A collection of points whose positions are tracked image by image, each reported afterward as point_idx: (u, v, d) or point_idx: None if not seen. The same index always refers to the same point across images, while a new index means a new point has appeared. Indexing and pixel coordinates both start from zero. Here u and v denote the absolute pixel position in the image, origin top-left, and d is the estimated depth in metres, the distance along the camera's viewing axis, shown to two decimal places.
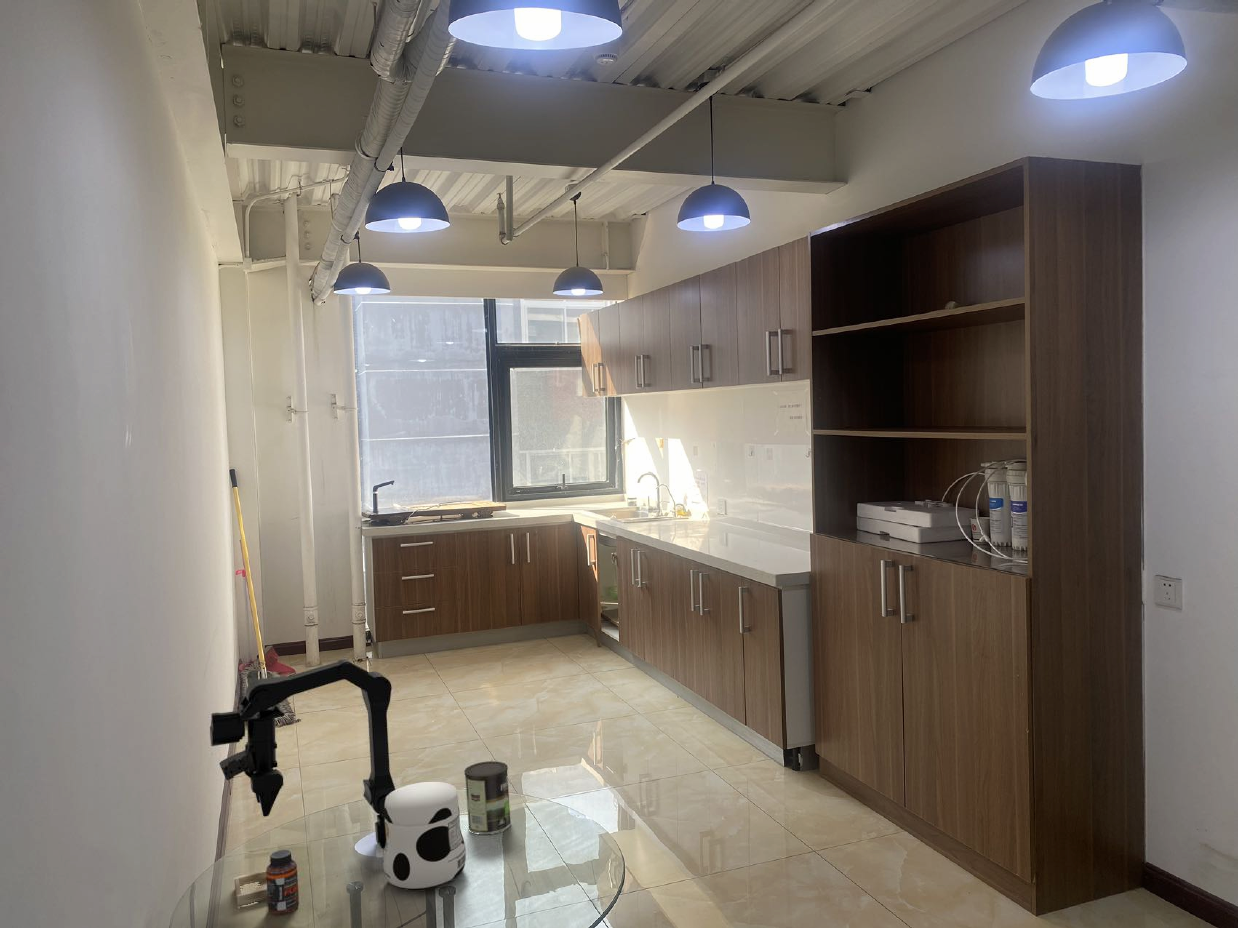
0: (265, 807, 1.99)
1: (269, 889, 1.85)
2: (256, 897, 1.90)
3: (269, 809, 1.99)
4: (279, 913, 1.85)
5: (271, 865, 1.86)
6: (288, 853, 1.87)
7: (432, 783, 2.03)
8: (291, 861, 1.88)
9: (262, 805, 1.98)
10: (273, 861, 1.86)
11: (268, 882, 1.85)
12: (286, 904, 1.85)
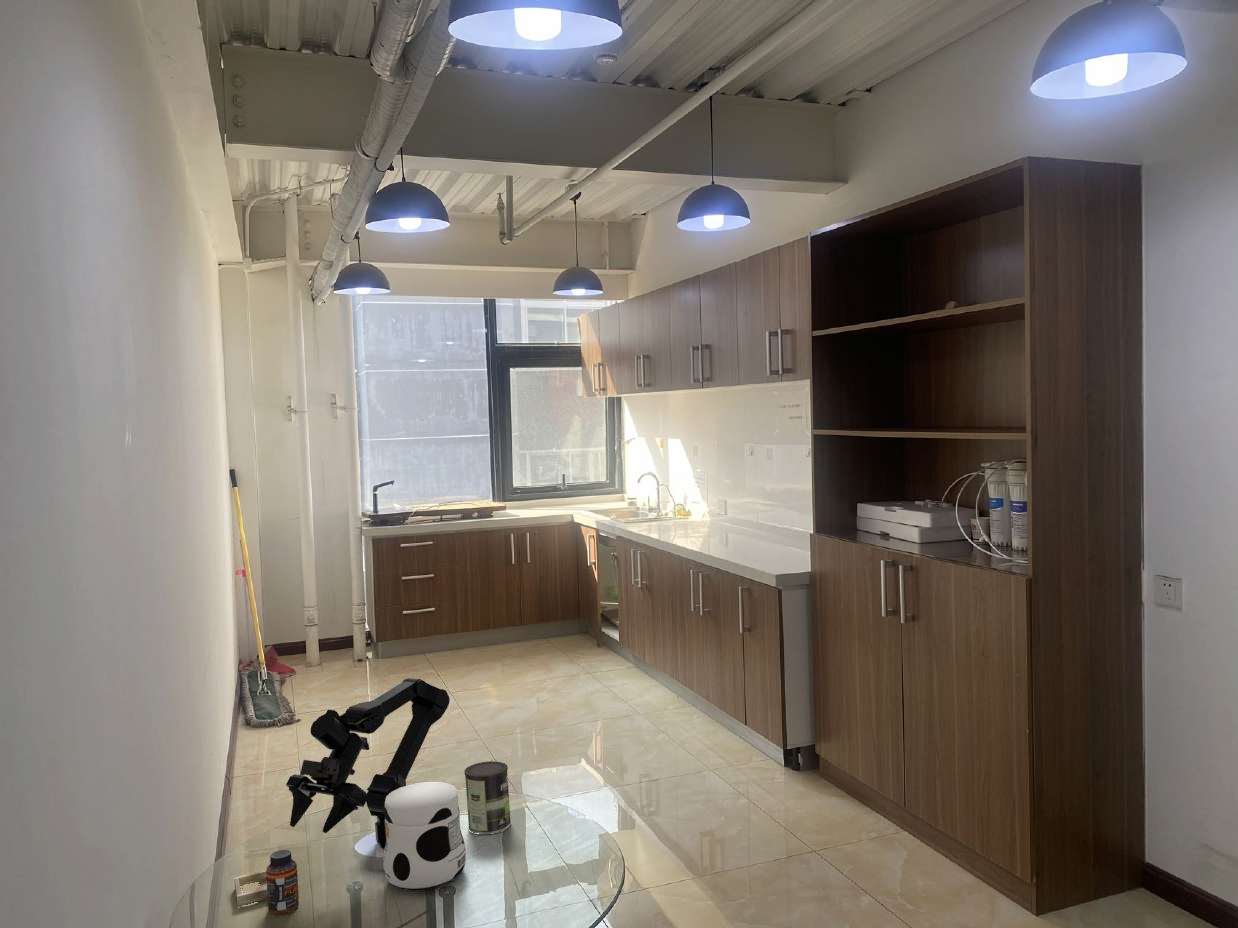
0: (331, 822, 1.93)
1: (269, 889, 1.85)
2: (256, 897, 1.90)
3: (331, 826, 1.93)
4: (279, 913, 1.85)
5: (271, 865, 1.86)
6: (288, 853, 1.87)
7: (432, 783, 2.03)
8: (291, 861, 1.88)
9: (331, 818, 1.93)
10: (273, 861, 1.86)
11: (268, 882, 1.85)
12: (286, 904, 1.85)
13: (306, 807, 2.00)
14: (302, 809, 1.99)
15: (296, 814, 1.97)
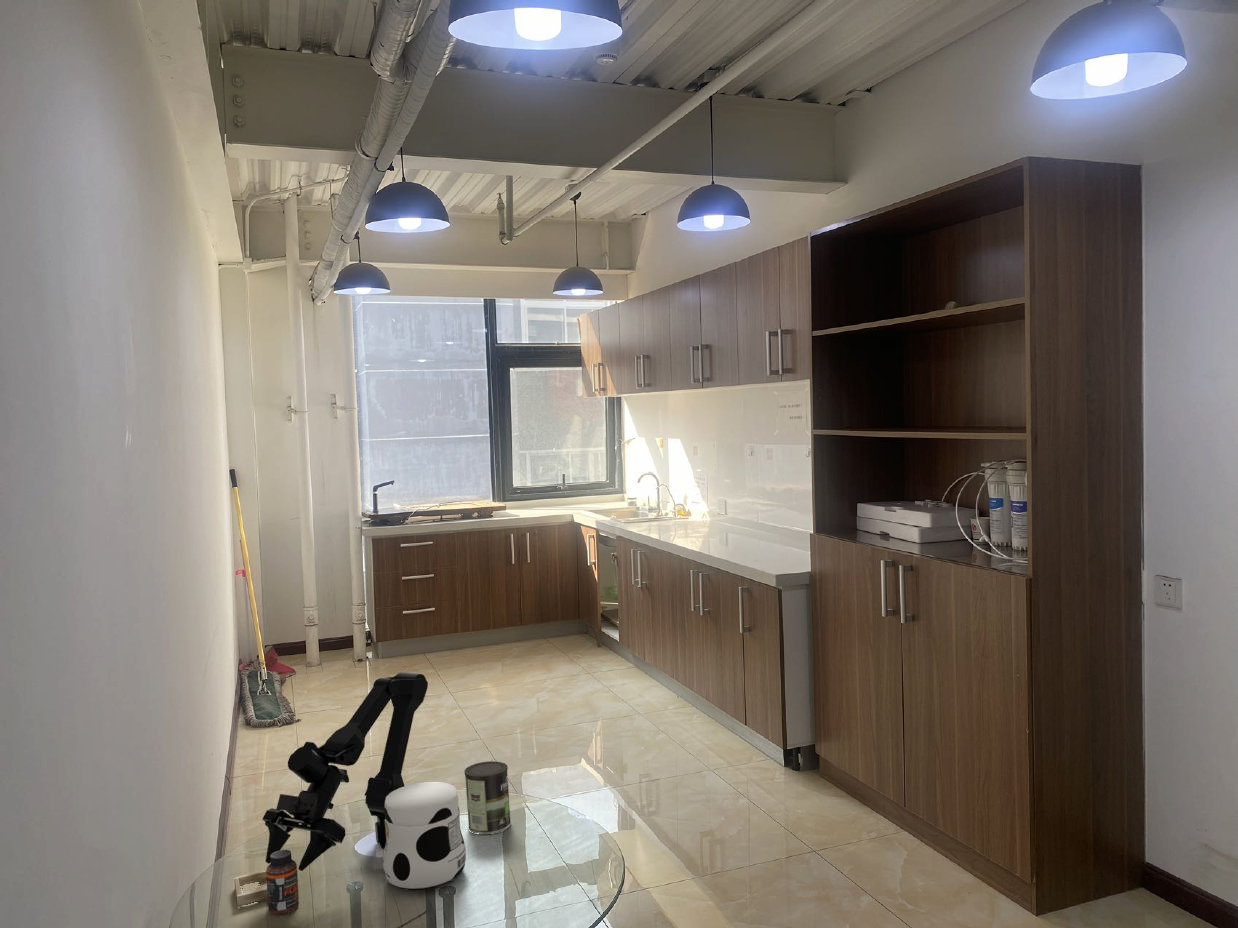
0: (308, 859, 1.87)
1: (269, 889, 1.85)
2: (256, 897, 1.90)
3: (308, 864, 1.87)
4: (279, 913, 1.85)
5: (271, 865, 1.86)
6: (288, 853, 1.87)
7: (432, 783, 2.03)
8: (291, 861, 1.88)
9: (308, 855, 1.87)
10: (273, 861, 1.86)
11: (268, 882, 1.85)
12: (286, 904, 1.85)
13: (283, 842, 1.94)
14: (278, 845, 1.93)
15: (272, 850, 1.91)
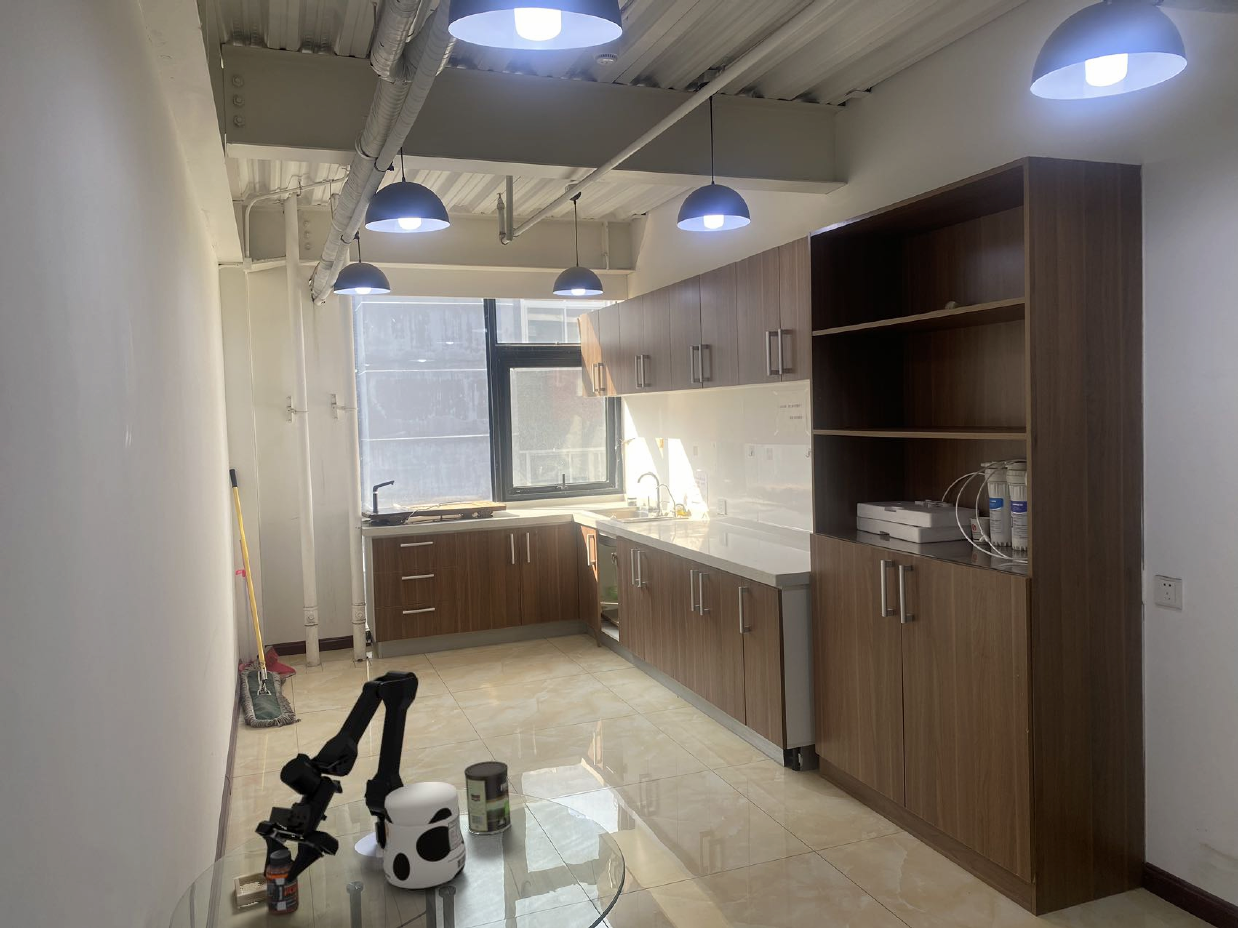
0: (295, 871, 1.86)
1: (269, 889, 1.85)
2: (256, 897, 1.90)
3: (295, 876, 1.86)
4: (279, 913, 1.85)
5: (271, 865, 1.86)
6: (288, 853, 1.87)
7: (432, 783, 2.03)
8: (291, 861, 1.88)
9: (295, 867, 1.86)
10: (273, 860, 1.86)
11: (268, 882, 1.85)
12: (286, 903, 1.85)
13: None
14: None
15: None
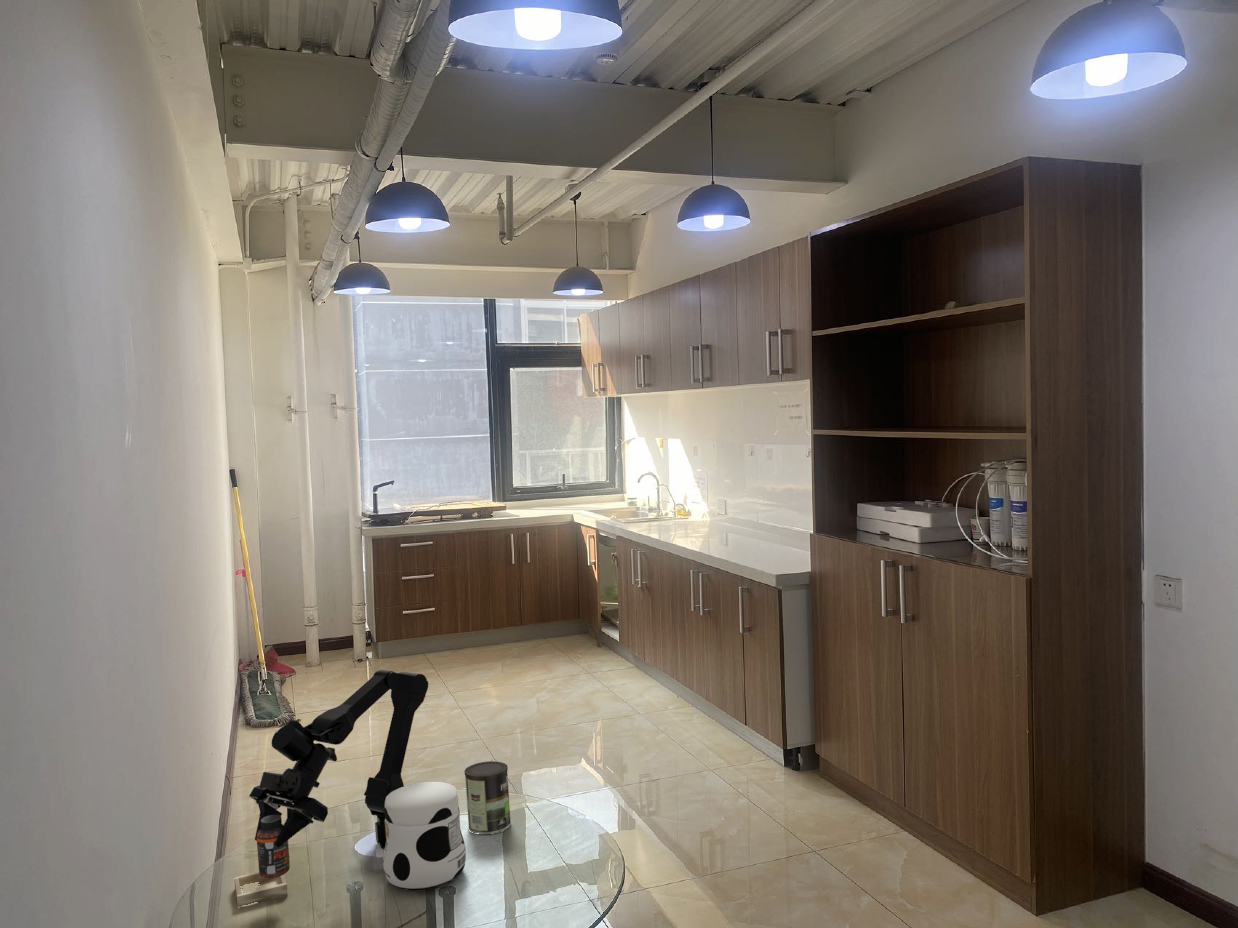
0: (284, 836, 1.87)
1: (259, 853, 1.87)
2: (256, 897, 1.90)
3: (284, 840, 1.87)
4: (269, 877, 1.87)
5: (261, 829, 1.88)
6: (278, 818, 1.89)
7: (432, 783, 2.03)
8: (281, 826, 1.89)
9: (284, 832, 1.87)
10: (263, 825, 1.88)
11: (258, 846, 1.87)
12: (276, 868, 1.87)
13: None
14: None
15: None
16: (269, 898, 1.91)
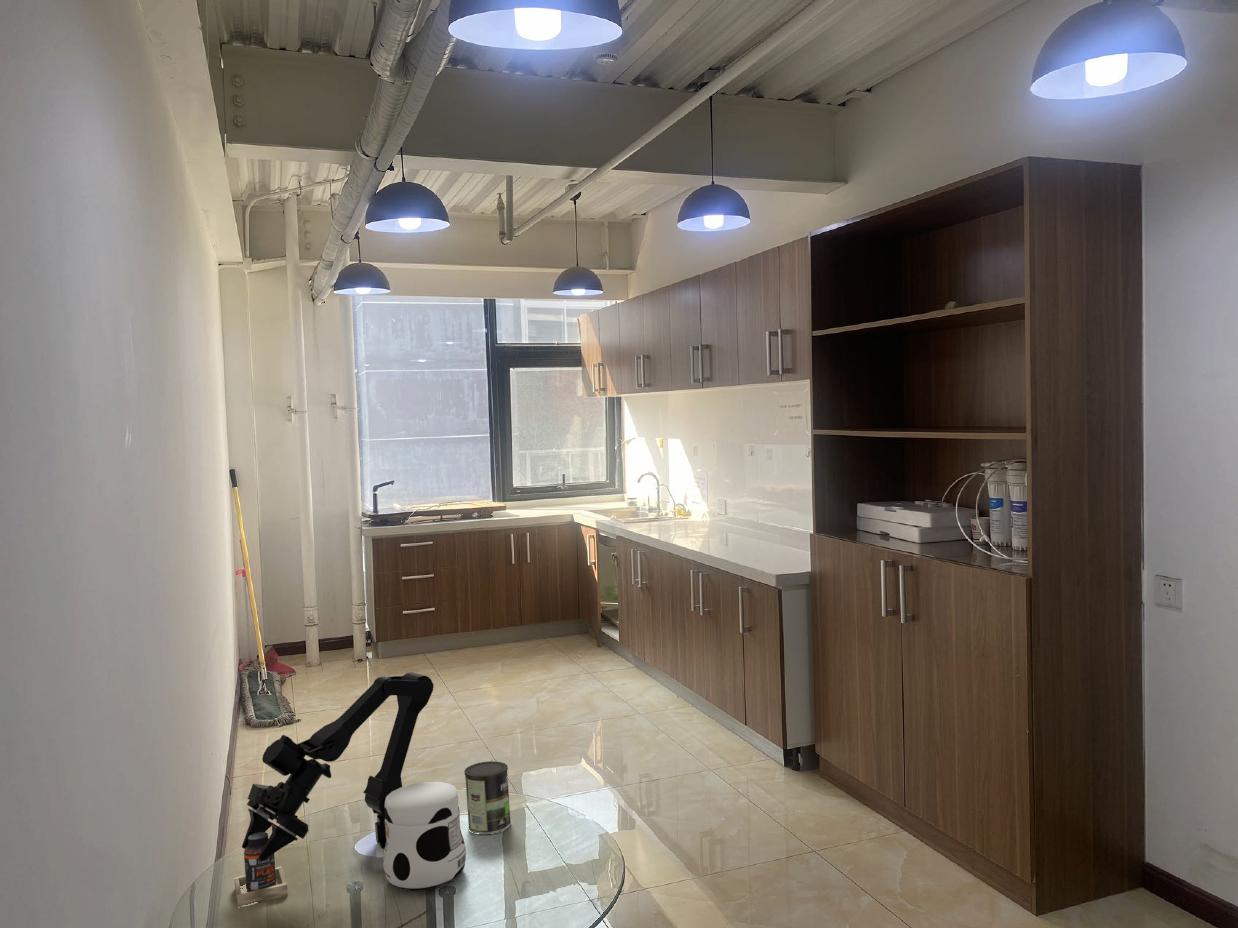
0: (268, 850, 1.91)
1: (245, 868, 1.94)
2: (256, 897, 1.90)
3: (268, 855, 1.92)
4: None
5: (248, 845, 1.95)
6: (263, 836, 1.95)
7: (432, 783, 2.03)
8: None
9: (268, 846, 1.91)
10: (248, 841, 1.94)
11: (244, 861, 1.94)
12: (259, 884, 1.92)
13: (263, 830, 2.00)
14: (258, 832, 1.99)
15: None
16: (269, 898, 1.91)
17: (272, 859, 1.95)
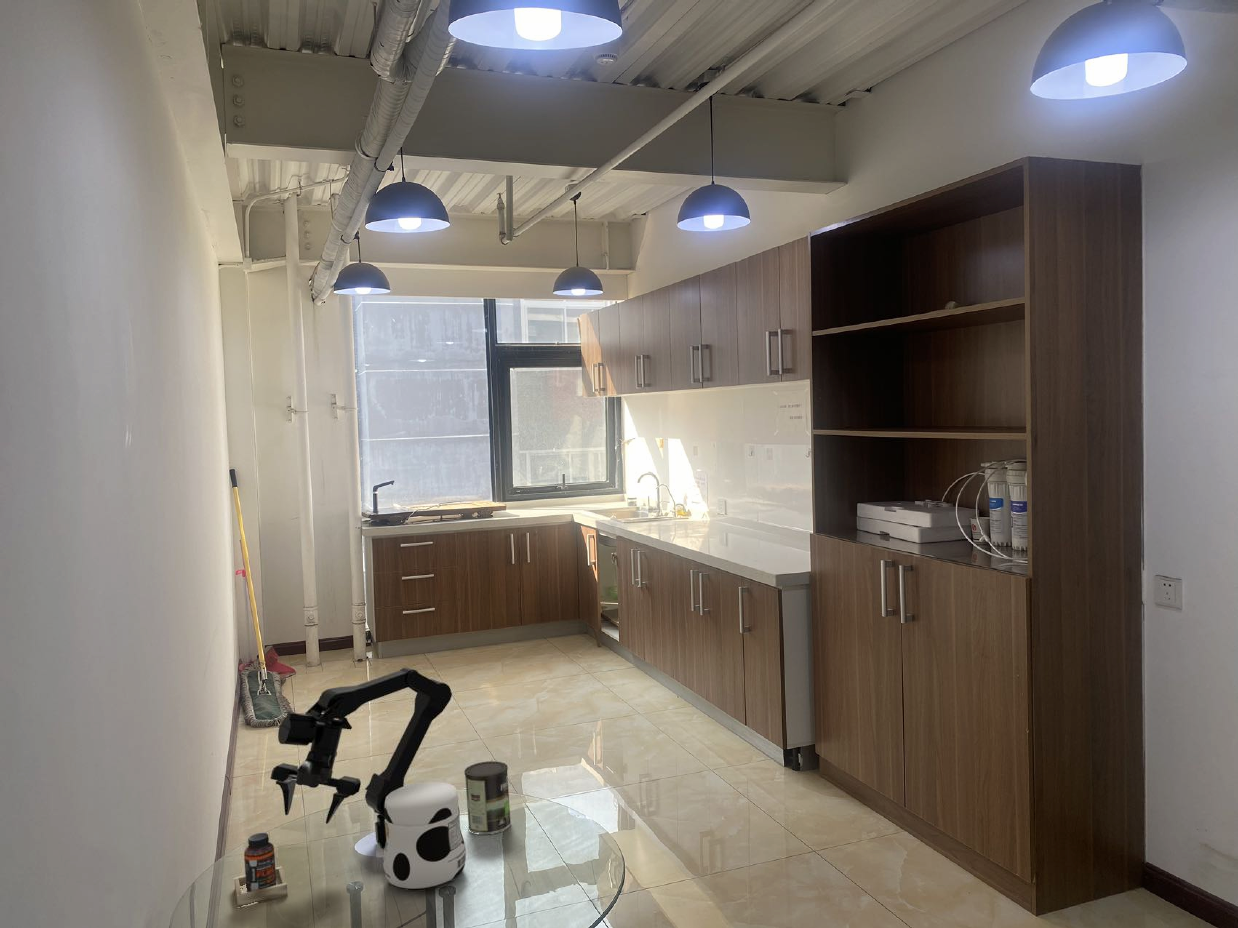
0: (332, 814, 2.05)
1: (245, 869, 1.94)
2: (256, 897, 1.90)
3: (332, 816, 2.05)
4: None
5: (248, 846, 1.94)
6: (263, 837, 1.94)
7: (432, 783, 2.03)
8: (267, 845, 1.95)
9: (333, 811, 2.04)
10: (249, 842, 1.94)
11: None
12: (259, 885, 1.92)
13: (293, 790, 2.07)
14: (291, 795, 2.06)
15: (289, 804, 2.05)
16: (269, 898, 1.91)
17: (272, 860, 1.95)
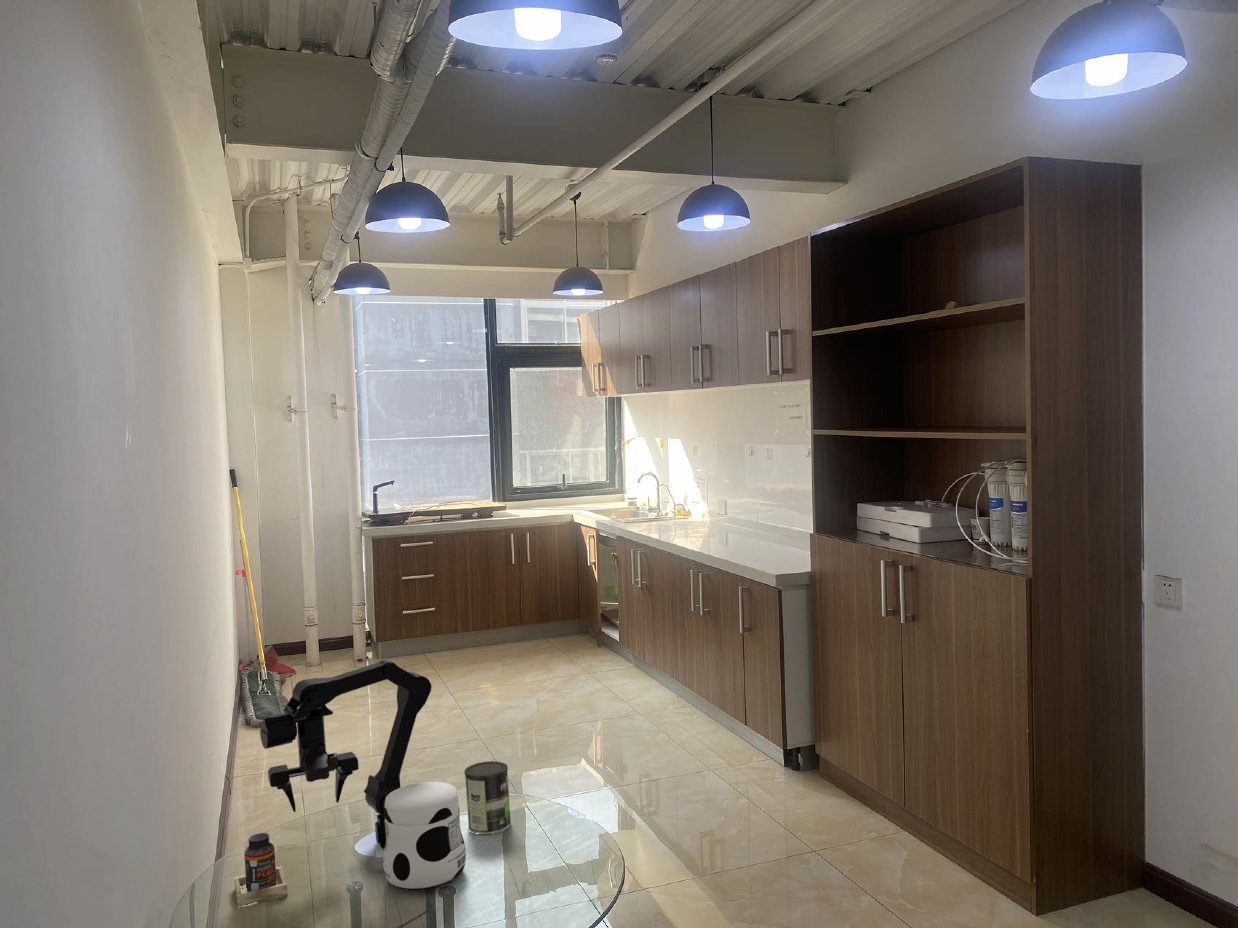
0: None
1: (245, 869, 1.93)
2: (256, 897, 1.90)
3: None
4: None
5: None
6: (264, 837, 1.94)
7: (432, 783, 2.03)
8: (267, 845, 1.95)
9: None
10: (249, 842, 1.94)
11: (245, 862, 1.94)
12: (259, 885, 1.92)
13: None
14: None
15: (294, 801, 2.04)
16: (269, 898, 1.91)
17: (273, 860, 1.95)
